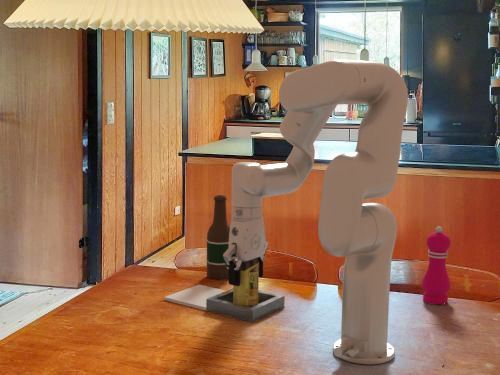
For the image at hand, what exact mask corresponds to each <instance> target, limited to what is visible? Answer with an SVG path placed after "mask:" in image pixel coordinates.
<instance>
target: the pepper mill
mask: <svg viewBox="0 0 500 375" xmlns="http://www.w3.org/2000/svg"><path fill="white" fill-rule="evenodd" d="M425 243H426V246H427V248H428V250H427V252H428V253H427V256H428V258H429V259H428V260H429V261H428V266H427V269H426V271H425V273H424V275H423V278H422V280H421V287H422V290H423V291H424V292H423V293H422V294H423V295H422V301H423V302H424V303H426V304H428V303H430V304H429V305H433V304H444V303H446V304H448V303H449V295H447V294H448V292H449V291H450V290H451V281H450V280H451V279H450V277H449V274H448V271H447V267H446V259H447V258H448V256H449V255H448V254H449V251H448V250H449V249H450V247H451V238H450V237H449V235H448V234H446V233H444V232H443V227H442V226H440V225H439V226H437V227H435V231H434V232H431V233H430V234H429V235H428V236H427V238H426V242H425ZM444 305H445V304H444Z"/></svg>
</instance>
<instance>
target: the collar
mask: <svg viewBox="0 0 500 375" xmlns="http://www.w3.org/2000/svg"><path fill="white" fill-rule="evenodd" d="M285 298H286V297H285V295H284V294H279V293H274V292H269V291H265V290H260V289H258V304H257V305H255V306H253V307H247V306H243V305H239V304H235V303H234V302H233V288H230V289H227V290H225V291H224V292H222V293H220V294H218V295H215V296H213V297H210V298H208V299H206V310H205V311H206V312H210V313H214V314H218V315H222V316H225V317H230V318H232V319H233V318H234V319H236V320H241V321H245V322H249V323H254V322H257V321H259V320H261V319H264V318H265V317H267V316H270V315H272V314H274V313H275V312H278V311H280V310H281V309H284V308H285V302H286V301H285V300H286V299H285Z"/></svg>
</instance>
